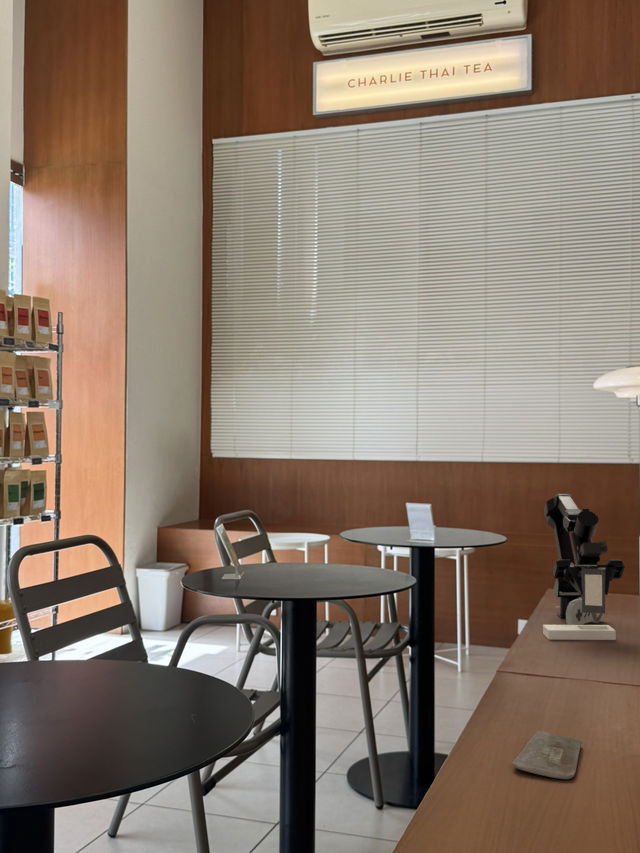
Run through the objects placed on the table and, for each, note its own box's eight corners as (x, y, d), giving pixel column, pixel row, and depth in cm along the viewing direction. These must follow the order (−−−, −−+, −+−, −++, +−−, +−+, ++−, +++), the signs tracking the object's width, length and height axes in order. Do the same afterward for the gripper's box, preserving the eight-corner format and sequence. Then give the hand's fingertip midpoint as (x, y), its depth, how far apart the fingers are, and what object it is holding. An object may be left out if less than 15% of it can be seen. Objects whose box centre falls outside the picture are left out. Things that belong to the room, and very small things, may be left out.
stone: (572, 778, 136) (509, 762, 140) (571, 796, 136) (508, 779, 140) (588, 734, 153) (531, 720, 157) (586, 749, 153) (530, 735, 157)
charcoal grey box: (581, 610, 238) (581, 567, 238) (604, 611, 237) (604, 567, 237) (582, 612, 235) (581, 568, 235) (605, 613, 234) (604, 569, 234)
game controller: (572, 631, 243) (572, 602, 243) (565, 630, 245) (565, 601, 245) (604, 621, 257) (604, 593, 257) (597, 619, 259) (597, 592, 259)
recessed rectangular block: (543, 633, 240) (543, 624, 240) (608, 634, 239) (608, 625, 239) (548, 639, 233) (548, 630, 233) (615, 639, 232) (615, 630, 232)
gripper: (555, 530, 241) (564, 576, 230) (622, 530, 240) (635, 577, 229) (549, 555, 249) (558, 600, 237) (614, 555, 248) (626, 600, 237)
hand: (594, 594), depth 235 cm, fingers closed on charcoal grey box, 6 cm apart
